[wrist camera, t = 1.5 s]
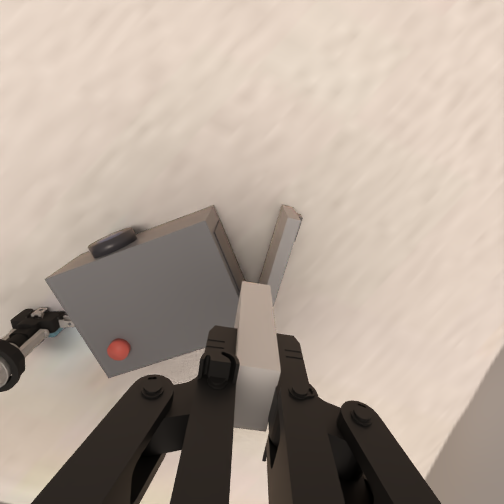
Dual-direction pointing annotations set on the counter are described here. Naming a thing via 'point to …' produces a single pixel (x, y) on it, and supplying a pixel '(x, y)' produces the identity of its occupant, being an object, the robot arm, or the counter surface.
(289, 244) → the door
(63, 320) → the push button
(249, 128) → the counter surface
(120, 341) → the housing
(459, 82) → the counter surface
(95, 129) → the counter surface
